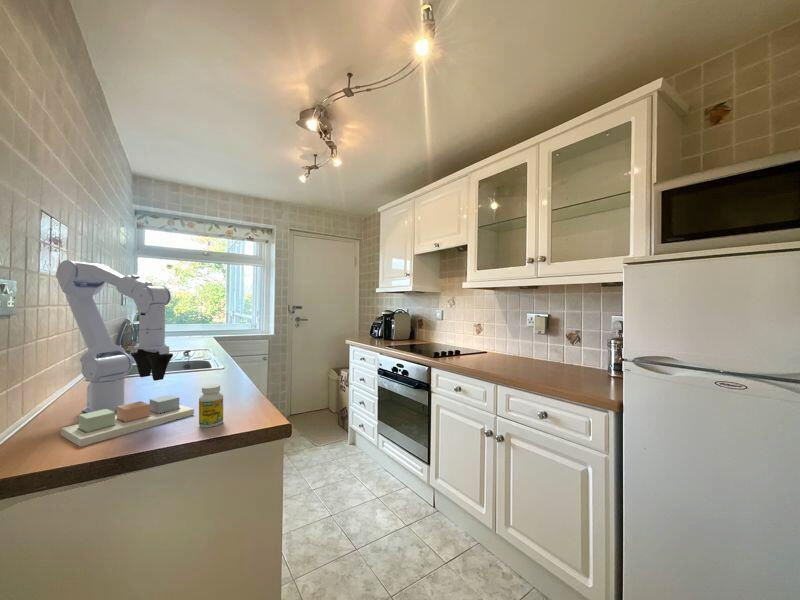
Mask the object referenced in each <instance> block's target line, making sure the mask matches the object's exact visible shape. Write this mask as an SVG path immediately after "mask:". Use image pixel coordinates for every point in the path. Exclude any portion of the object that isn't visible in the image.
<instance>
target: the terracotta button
mask: <svg viewBox="0 0 800 600" xmlns="http://www.w3.org/2000/svg"><path fill="white" fill-rule="evenodd" d="M116 415H117V419H119V420H121V421H124V422H126V423H127V422H128V421H130V422H131V421H132V420H134V421H135V420H136V419H138V420H139V419H140V418H144V417H148V416H150V403H147V402H144V401H141V400H140V401H136V402H131V403H128V404H127V403H126V404H125V405H121V406H117V411H116Z"/></svg>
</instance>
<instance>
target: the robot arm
mask: <svg viewBox="0 0 800 600" xmlns="http://www.w3.org/2000/svg"><path fill="white" fill-rule="evenodd" d="M55 277H56V279H57V282H58V284H59V286H60V289H61V291H62V293H64V294H65V299H66V301H67V303H68V306H69V308H70V311H71V313H72V315H73V318H74V319H75V322H76V324H77V327H78V329H79V331H80V333H81V336H82V338H83V341H84V343H85V345H86V348H87V351H85V352H84V353H83V355H82V356H81V357H80V358H79V362H80V365H81V374H82V376H83V377H84V378H85V379H86V381H87V382H89V383H88V385H87V388H86V408H85V407H83V408H82V409H81V410H82V411H83V412H85V413H89V412H94V411H99V410H103V409H108V410H111V411H113V412H115V413H116V412H117V406H121V405H126V404H125V378H126V377H128V374H129V373H130V372H131V371H132V369H133V360H134V361H135V365H136V368H137V371H138V375H139V377H140V378H145V377H150V376H151V377H152V379H153V381H160V380H161V381H162V380H164V378H165V375H166V371H167V367H168V365H169V363H170V361H171V360H172V358H173V357H174V353H172V352H170V346H168V345H167V344H166V341H165V340H166V338H165V337H166V336H165V333H166V306H167V305H169V303H170V301H171V295H172V294H171V292H170V289H168V288H167V287H166V286H164V285H158V286H157V285H156V286H155V285H154V284H153V282H151V281H147V280H146V281H145V280H143V279H141V278H140V276H139V275H137V274H131V275H130V274H129V275H123V274H121V273H119V272H118V271H116V270H114V269H113V268H111V267H110V266H109V265H106V264H103V263H93V262H83V261H73V260H70V259H66V260H65V259H64V260H63V261H61V262H60V263H59V265H58V266H57V269H56V272H55ZM106 283H107V284H108V285H111V286H114V287H115V289H116V291H117V292H118V293H119V294H121V295H124V296H126V297H128V298H129V299H132V300H133V302H134V304H135V306H136V311H137V313H138V343H135V345H134V346H133V349H134V350H135V351H136V352H135V351H133V352H131V353H130V355H131V356H130V355H129V354H128V353H127V352H126V350H125V348H124V347H122V346H119V345H117V344H115V343H113V340H112V339H111V336H110V334H109V332H108V330H107V327H106V325H105V322H104V321H103V318H102V315H101V313H100V311H99V309H98V306H97V305H96V302H95V300H94V296H95V295H97V294H99V293H100V292H101V290H102V288H103V287H104V286H105V285H106ZM132 358H133V359H132Z"/></svg>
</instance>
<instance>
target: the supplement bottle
mask: <svg viewBox="0 0 800 600" xmlns="http://www.w3.org/2000/svg"><path fill="white" fill-rule="evenodd" d="M220 391H221V385H220V384H208V385H207V384H206V385H204V386H202V387H201V392H202V395H200V396H199V398H198V425H199V427H200V428H204V427H206V428H213V426H214V427H217V426H219V425H221V424H223V423H224V394H223V393H222V392H220Z"/></svg>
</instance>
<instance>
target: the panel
mask: <svg viewBox="0 0 800 600" xmlns="http://www.w3.org/2000/svg"><path fill="white" fill-rule="evenodd" d="M193 414H194V415H195V408H192V407H189V406H186V405H182V404H180V403H179V409H175V410H171V411H169V412H165V413H164V412H163V413H161V414H160V413H159V414H158V413H155V412H152V411H150V416H148V417H144V418H140V419H136V420H132V421H128V422H124V421H121V420H119V419H117V414H115V425H113V426H109V427H105V428H101V429H97V430H93V431H89V432H86V431H84V430H82V429H80V428H79V423H78V424H74V425H69V426H65V427H61V428H60V430H61V431H60V432H61V436H62V437H64V438H65V439H66V440H68V441H70V442H72V443H74V444H75V445H77V446H79V447H80V448H81V447H84V446H88V445H91V444H95V443H98V442H102V441H105V440H109V439H112V438H116V437H120V436H123V435H127V434H131V433H135V432H138V431H140V430H144V429H147V428H151V427H155V426H158V425H162V424H166V423H168V421H170V422H172V420H173V421H175V419H177V420H180V419H182V417H184V418H187V417H190V416H189V415H191V416H194V415H193ZM186 416H187V417H186ZM179 418H180V419H179ZM165 422H166V423H165Z"/></svg>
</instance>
